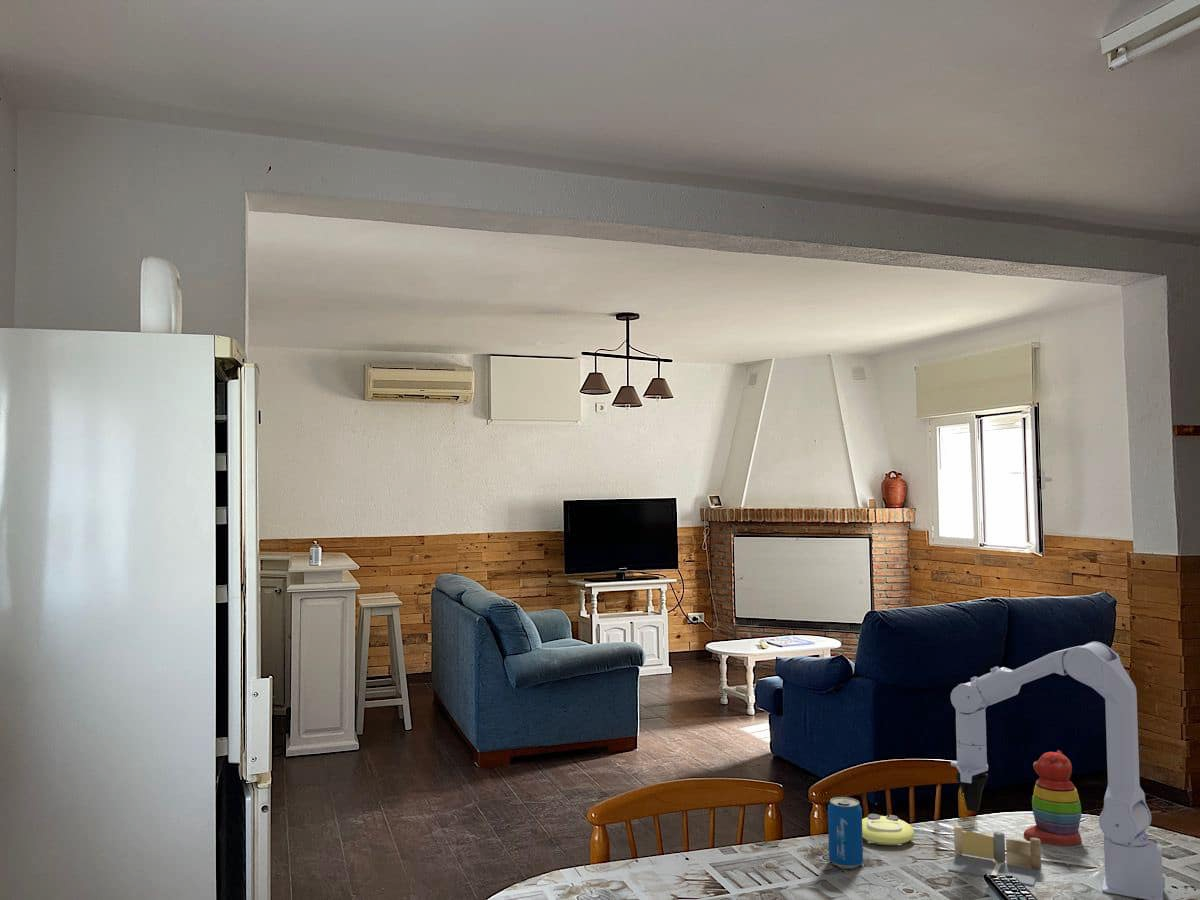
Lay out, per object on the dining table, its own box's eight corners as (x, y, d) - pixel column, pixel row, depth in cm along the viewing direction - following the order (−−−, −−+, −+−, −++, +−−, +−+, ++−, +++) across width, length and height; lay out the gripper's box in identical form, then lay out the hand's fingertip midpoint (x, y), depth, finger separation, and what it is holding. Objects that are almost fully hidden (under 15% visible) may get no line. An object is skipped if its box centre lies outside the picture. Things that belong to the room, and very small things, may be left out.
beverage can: (825, 866, 185) (824, 803, 186) (833, 855, 191) (832, 794, 192) (858, 872, 182) (857, 808, 183) (866, 861, 188) (864, 799, 189)
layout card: (1041, 863, 186) (1041, 861, 186) (1033, 886, 175) (1033, 884, 175) (960, 849, 194) (960, 848, 194) (948, 870, 183) (948, 869, 183)
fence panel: (1005, 859, 187) (1005, 832, 187) (1004, 862, 185) (1003, 836, 185) (955, 850, 192) (954, 825, 192) (953, 853, 190) (952, 827, 190)
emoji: (917, 834, 194) (910, 811, 205) (856, 831, 196) (853, 808, 208) (918, 853, 194) (911, 829, 205) (857, 850, 196) (853, 826, 208)
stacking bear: (1041, 826, 208) (1038, 743, 209) (1090, 837, 200) (1087, 751, 201) (1020, 838, 200) (1017, 752, 201) (1070, 850, 193) (1067, 761, 194)
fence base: (1041, 867, 183) (1040, 838, 184) (1040, 870, 182) (1039, 841, 182) (1007, 861, 186) (1006, 833, 187) (1006, 864, 185) (1005, 836, 185)
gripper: (957, 732, 203) (958, 797, 202) (943, 747, 191) (945, 816, 190) (992, 736, 199) (994, 802, 199) (981, 752, 187) (983, 822, 186)
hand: (973, 810), depth 194 cm, fingers closed
